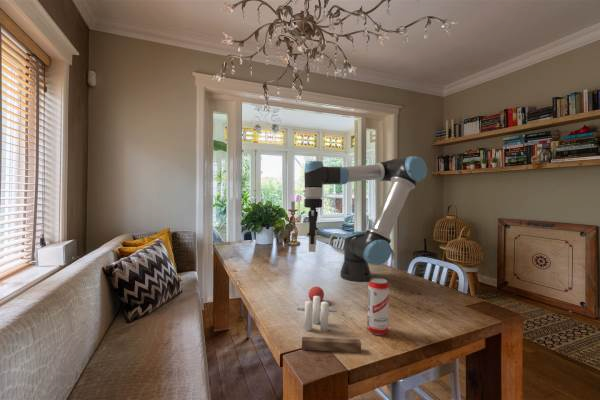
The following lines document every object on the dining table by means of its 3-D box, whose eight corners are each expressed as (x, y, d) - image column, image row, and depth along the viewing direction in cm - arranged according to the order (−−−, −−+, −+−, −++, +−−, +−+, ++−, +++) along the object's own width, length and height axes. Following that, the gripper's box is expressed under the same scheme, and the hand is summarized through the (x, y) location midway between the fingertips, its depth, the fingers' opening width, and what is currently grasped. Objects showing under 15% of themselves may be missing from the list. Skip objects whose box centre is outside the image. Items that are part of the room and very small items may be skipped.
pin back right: (328, 328, 89) (328, 301, 89) (328, 331, 87) (328, 304, 87) (320, 327, 90) (320, 301, 89) (320, 331, 87) (321, 304, 87)
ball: (323, 299, 113) (323, 284, 112) (324, 305, 107) (324, 289, 106) (308, 298, 113) (308, 284, 113) (308, 304, 107) (308, 289, 107)
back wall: (359, 348, 78) (359, 339, 78) (360, 352, 76) (361, 343, 76) (302, 345, 79) (302, 336, 79) (301, 349, 77) (302, 340, 77)
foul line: (335, 309, 103) (335, 309, 103) (335, 311, 102) (335, 310, 102) (297, 308, 104) (297, 307, 104) (296, 309, 102) (296, 309, 102)
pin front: (319, 321, 94) (320, 295, 94) (320, 324, 92) (320, 298, 91) (312, 320, 94) (313, 295, 94) (312, 324, 92) (313, 298, 91)
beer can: (364, 326, 91) (365, 277, 90) (383, 326, 91) (384, 277, 91) (370, 336, 84) (372, 284, 84) (391, 336, 85) (392, 283, 84)
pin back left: (312, 327, 90) (312, 301, 89) (312, 331, 87) (312, 304, 87) (304, 327, 90) (305, 300, 89) (304, 330, 87) (304, 303, 87)
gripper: (306, 197, 131) (305, 242, 132) (302, 199, 106) (301, 254, 107) (322, 197, 131) (321, 242, 132) (322, 199, 106) (321, 255, 107)
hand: (312, 248), depth 119 cm, fingers open, 13 cm apart
